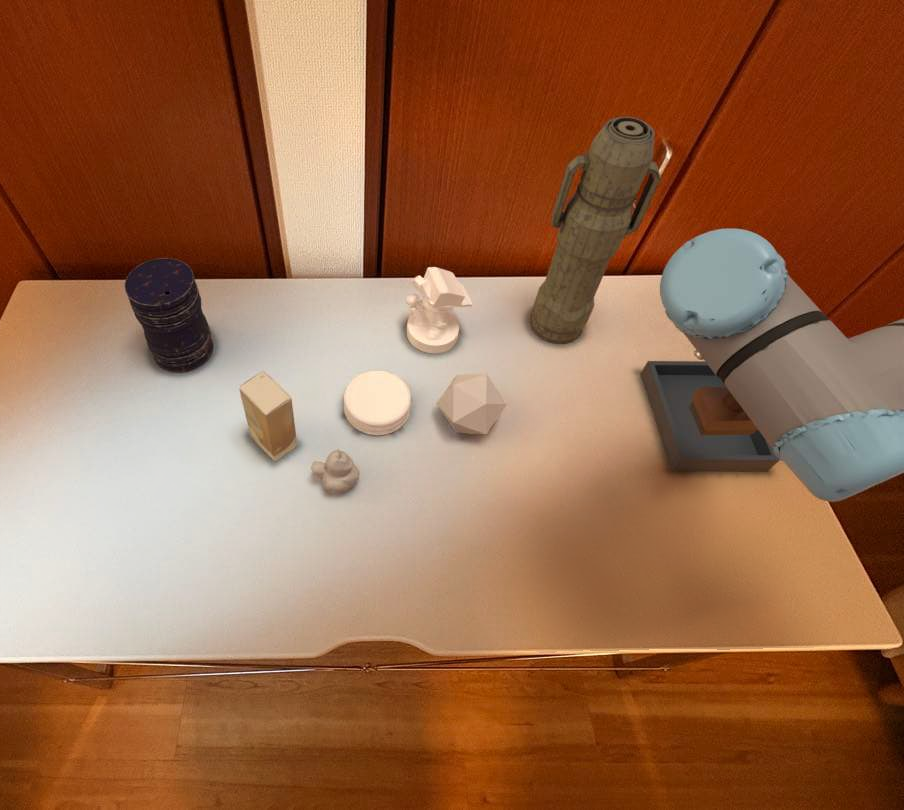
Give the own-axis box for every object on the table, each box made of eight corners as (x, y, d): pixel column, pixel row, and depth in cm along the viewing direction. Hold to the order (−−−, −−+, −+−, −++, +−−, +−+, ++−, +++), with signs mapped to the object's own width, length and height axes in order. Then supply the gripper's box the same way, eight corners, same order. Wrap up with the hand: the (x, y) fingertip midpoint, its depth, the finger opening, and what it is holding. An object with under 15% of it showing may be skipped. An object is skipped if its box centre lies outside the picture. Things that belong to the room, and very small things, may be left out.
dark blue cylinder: (143, 342, 100) (113, 273, 88) (198, 318, 103) (177, 248, 91) (167, 383, 95) (139, 316, 83) (224, 356, 99) (205, 288, 86)
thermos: (597, 344, 101) (691, 147, 72) (525, 344, 100) (591, 147, 72) (585, 305, 106) (668, 107, 77) (517, 305, 106) (575, 107, 77)
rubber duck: (357, 500, 84) (356, 471, 77) (309, 495, 84) (305, 466, 78) (361, 466, 87) (361, 435, 81) (315, 461, 87) (311, 431, 81)
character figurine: (399, 319, 104) (404, 265, 94) (452, 308, 105) (462, 254, 95) (416, 358, 99) (422, 305, 89) (471, 346, 100) (483, 293, 90)
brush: (740, 403, 77) (829, 300, 62) (756, 436, 74) (854, 337, 60) (685, 404, 77) (762, 301, 62) (699, 438, 74) (783, 338, 59)
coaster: (423, 412, 92) (425, 399, 90) (373, 448, 89) (373, 435, 86) (380, 372, 97) (381, 358, 94) (330, 405, 93) (329, 391, 90)
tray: (767, 471, 87) (780, 460, 84) (672, 470, 87) (681, 459, 84) (726, 373, 97) (735, 361, 95) (640, 373, 97) (647, 360, 95)
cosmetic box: (249, 435, 90) (235, 385, 80) (272, 419, 92) (262, 367, 82) (276, 464, 87) (265, 415, 77) (299, 446, 89) (292, 396, 79)
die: (481, 391, 96) (449, 354, 90) (525, 406, 89) (493, 367, 83) (451, 435, 95) (416, 400, 89) (493, 454, 88) (458, 418, 81)
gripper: (646, 304, 58) (694, 353, 77) (779, 422, 51) (798, 446, 69) (712, 242, 56) (746, 308, 74) (864, 357, 48) (860, 400, 66)
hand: (771, 375), depth 71 cm, fingers closed on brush, 2 cm apart
